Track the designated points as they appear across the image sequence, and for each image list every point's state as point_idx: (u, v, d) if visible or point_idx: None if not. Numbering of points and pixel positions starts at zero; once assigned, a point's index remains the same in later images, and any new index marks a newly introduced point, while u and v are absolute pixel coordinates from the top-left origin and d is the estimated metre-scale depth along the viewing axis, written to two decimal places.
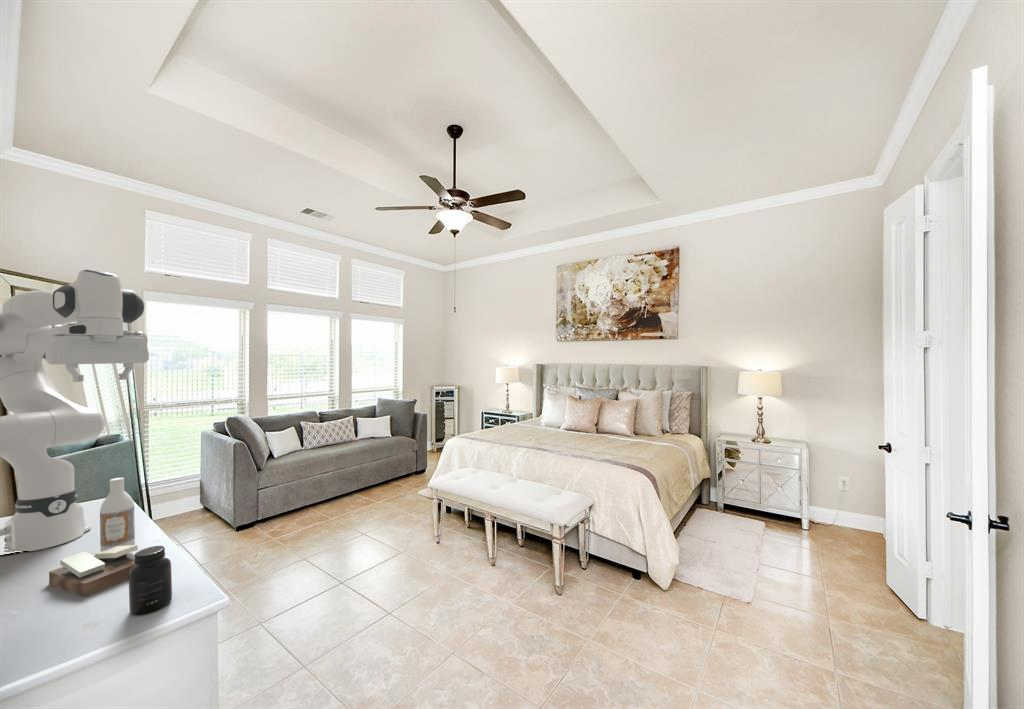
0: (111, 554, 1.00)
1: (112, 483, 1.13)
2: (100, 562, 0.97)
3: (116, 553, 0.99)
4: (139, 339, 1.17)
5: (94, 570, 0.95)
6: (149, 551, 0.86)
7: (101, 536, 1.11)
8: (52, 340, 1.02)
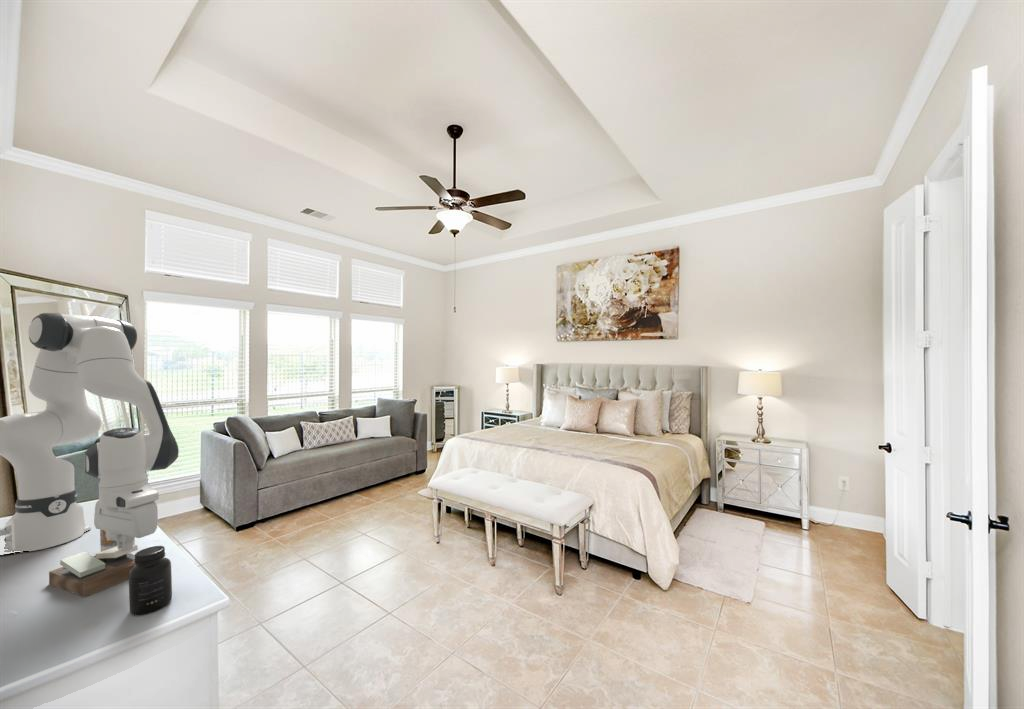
0: (111, 554, 1.00)
1: None
2: (100, 562, 0.97)
3: (116, 553, 0.99)
4: None
5: (94, 570, 0.95)
6: (149, 551, 0.86)
7: (101, 536, 1.11)
8: (147, 510, 0.98)
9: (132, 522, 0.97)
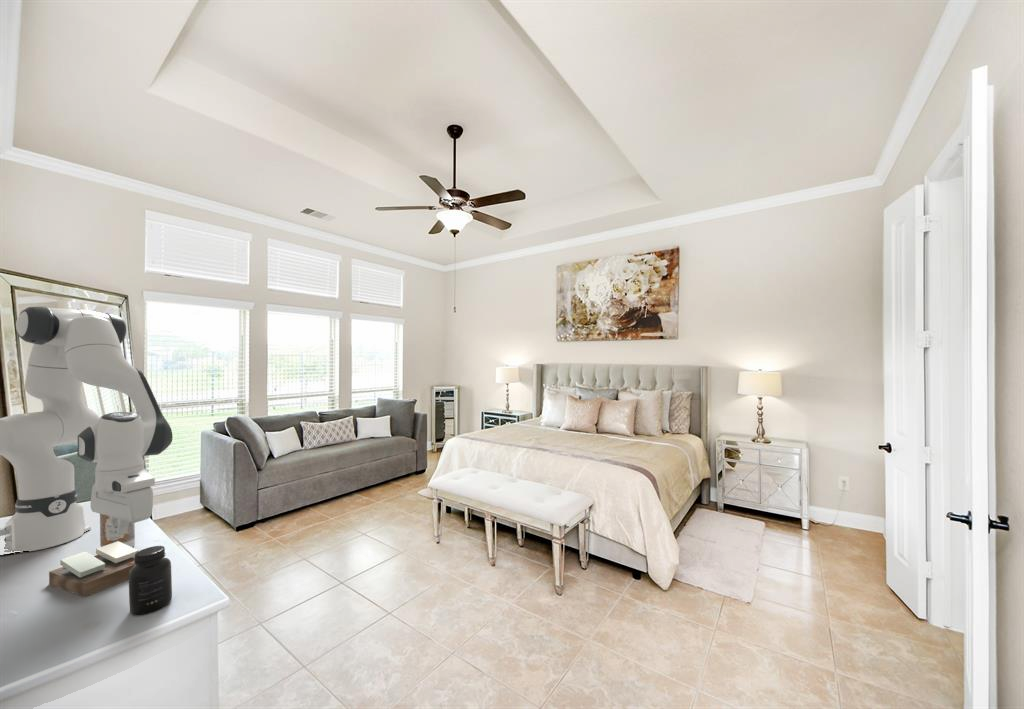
0: (112, 558, 0.99)
1: None
2: (100, 562, 0.97)
3: (117, 558, 0.99)
4: None
5: (94, 570, 0.95)
6: (149, 551, 0.86)
7: (101, 536, 1.11)
8: (142, 495, 0.98)
9: (127, 507, 0.97)
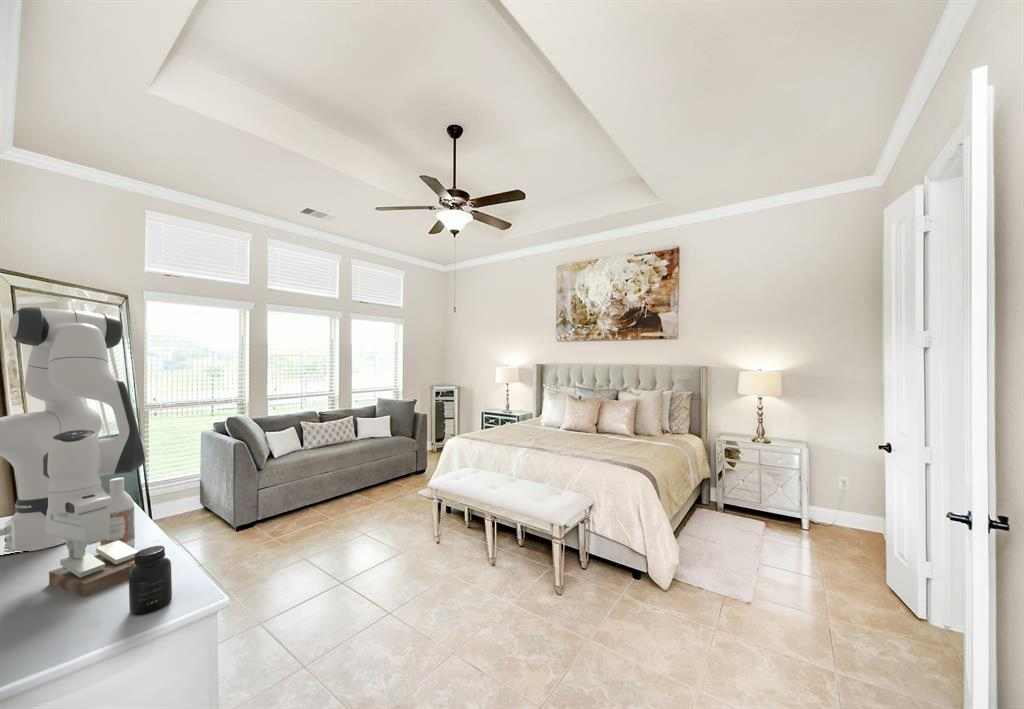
0: (112, 558, 0.99)
1: (112, 483, 1.13)
2: (100, 562, 0.97)
3: (117, 560, 0.99)
4: None
5: (94, 570, 0.95)
6: (149, 551, 0.86)
7: None
8: (98, 516, 0.95)
9: (82, 528, 0.94)
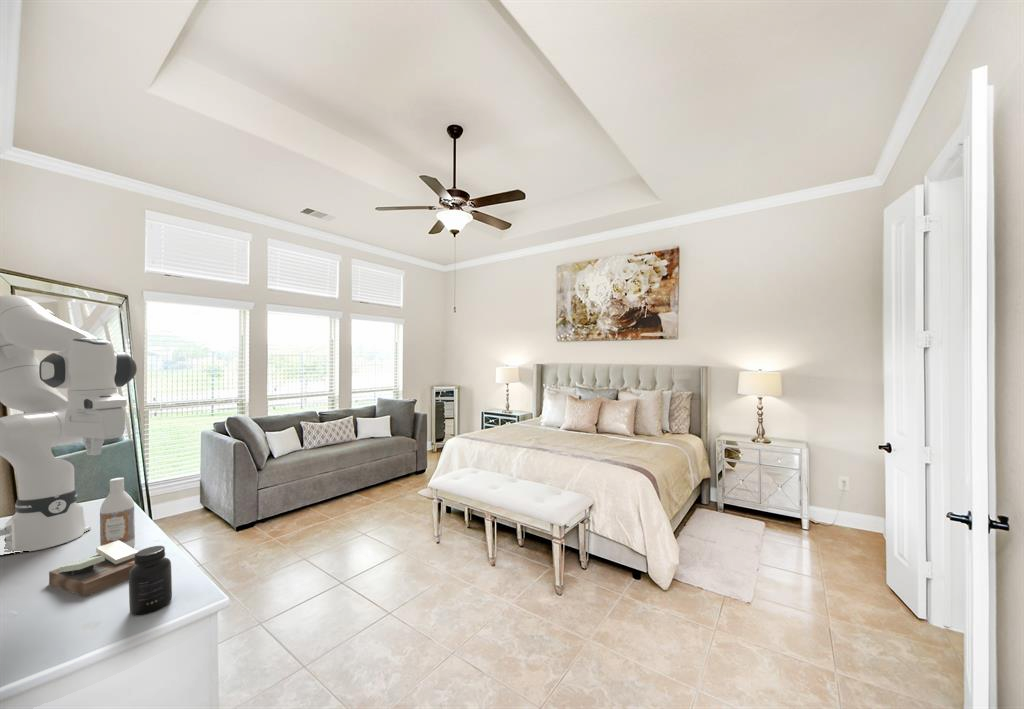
0: (112, 558, 0.99)
1: (112, 483, 1.13)
2: (99, 556, 0.97)
3: (117, 560, 0.99)
4: None
5: (93, 562, 0.95)
6: (149, 551, 0.86)
7: (101, 536, 1.11)
8: (114, 413, 1.01)
9: (99, 424, 1.00)
